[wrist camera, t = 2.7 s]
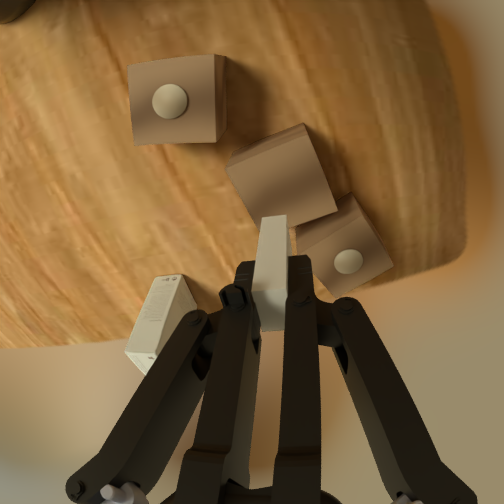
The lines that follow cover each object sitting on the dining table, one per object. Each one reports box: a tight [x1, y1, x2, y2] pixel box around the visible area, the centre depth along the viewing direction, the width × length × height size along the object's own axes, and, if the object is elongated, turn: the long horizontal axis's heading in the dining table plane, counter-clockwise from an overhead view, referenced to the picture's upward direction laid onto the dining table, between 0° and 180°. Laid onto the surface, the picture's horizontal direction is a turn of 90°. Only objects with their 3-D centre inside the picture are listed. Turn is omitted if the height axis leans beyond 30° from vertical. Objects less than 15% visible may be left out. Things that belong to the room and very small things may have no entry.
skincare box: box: [124, 274, 197, 376], centre depth 33 cm, size 6×4×12 cm
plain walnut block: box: [225, 123, 338, 232], centre depth 25 cm, size 7×7×5 cm
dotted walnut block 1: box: [127, 54, 227, 146], centre depth 21 cm, size 7×7×5 cm
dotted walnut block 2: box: [296, 192, 394, 298], centre depth 29 cm, size 7×7×5 cm
